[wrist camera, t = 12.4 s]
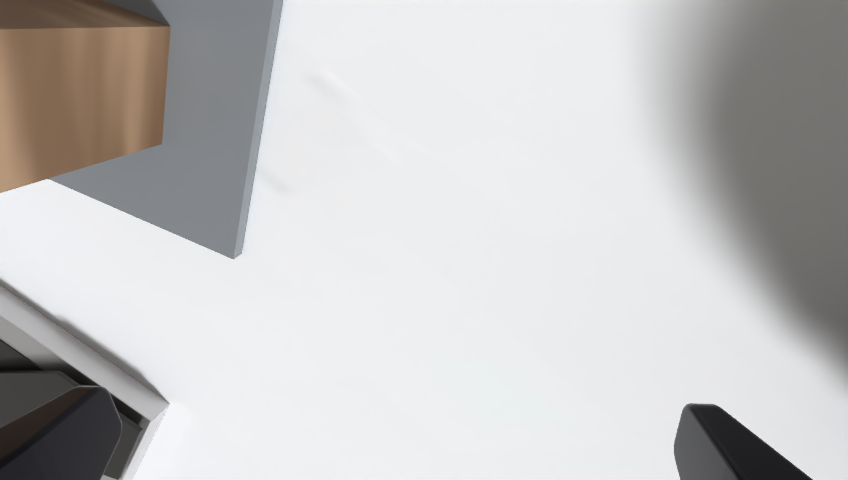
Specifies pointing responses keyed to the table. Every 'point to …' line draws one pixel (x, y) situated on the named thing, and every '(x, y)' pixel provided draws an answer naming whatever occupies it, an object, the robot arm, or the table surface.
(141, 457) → the picture frame
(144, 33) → the block
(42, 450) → the robot arm
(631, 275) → the table surface
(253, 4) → the coaster
